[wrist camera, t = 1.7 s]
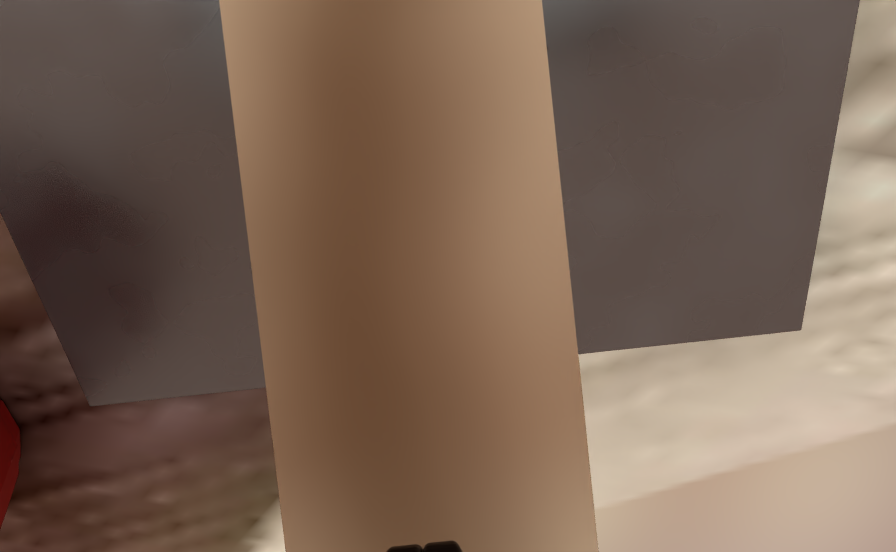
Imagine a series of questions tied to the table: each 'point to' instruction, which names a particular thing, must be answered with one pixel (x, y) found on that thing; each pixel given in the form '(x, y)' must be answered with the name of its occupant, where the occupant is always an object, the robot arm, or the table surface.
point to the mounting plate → (579, 156)
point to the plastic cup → (8, 457)
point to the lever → (411, 273)
